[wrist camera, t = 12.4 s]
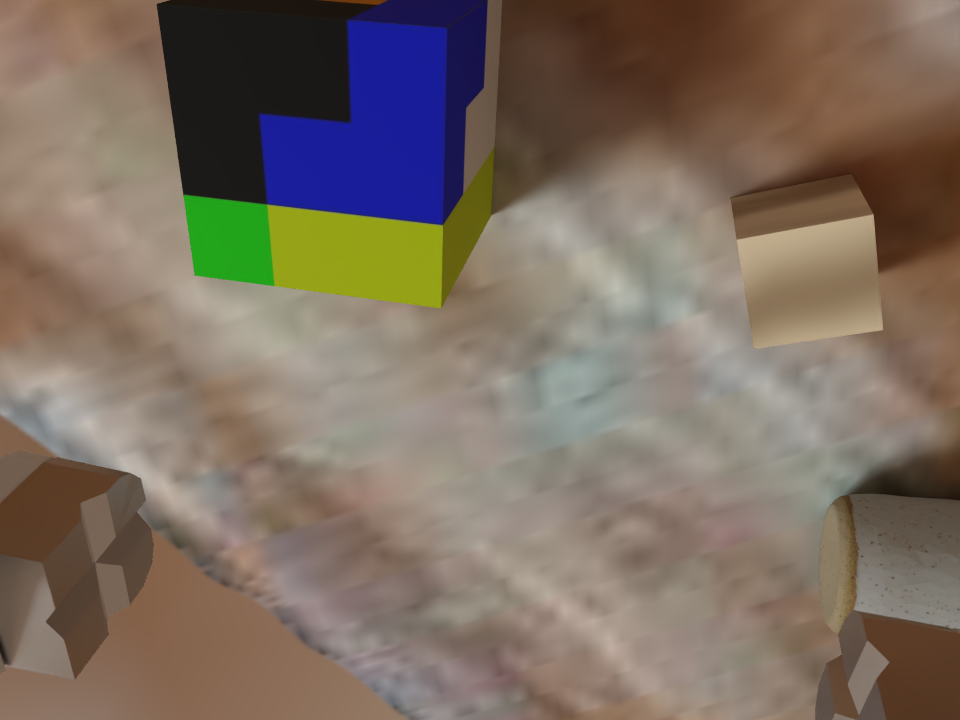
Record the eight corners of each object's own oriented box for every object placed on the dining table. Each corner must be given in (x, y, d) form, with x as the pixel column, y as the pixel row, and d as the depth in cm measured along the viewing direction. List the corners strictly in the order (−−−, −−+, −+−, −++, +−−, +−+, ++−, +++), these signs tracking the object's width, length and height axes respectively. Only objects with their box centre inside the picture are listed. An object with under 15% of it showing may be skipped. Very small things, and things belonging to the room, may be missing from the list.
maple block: (730, 197, 38) (736, 239, 34) (851, 173, 37) (873, 214, 32) (746, 297, 40) (754, 348, 36) (860, 278, 39) (883, 329, 34)
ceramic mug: (825, 461, 44) (849, 569, 37) (1002, 471, 42) (1060, 586, 36) (802, 609, 49) (820, 725, 43) (958, 623, 47) (1001, 747, 41)
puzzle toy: (503, -13, 36) (447, 27, 27) (491, 215, 41) (440, 307, 32) (276, -30, 37) (156, 4, 29) (292, 192, 42) (194, 275, 34)
